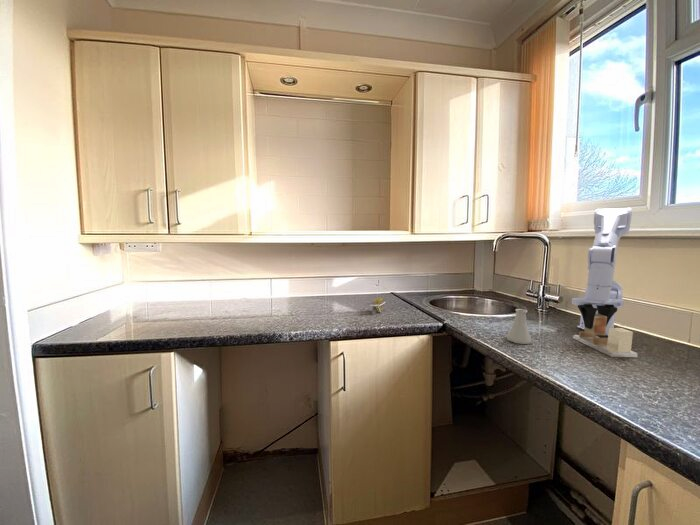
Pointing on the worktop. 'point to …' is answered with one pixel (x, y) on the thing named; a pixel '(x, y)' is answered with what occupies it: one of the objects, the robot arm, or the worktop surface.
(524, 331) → the flask
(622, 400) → the worktop surface
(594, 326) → the block
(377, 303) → the green irregular piece
